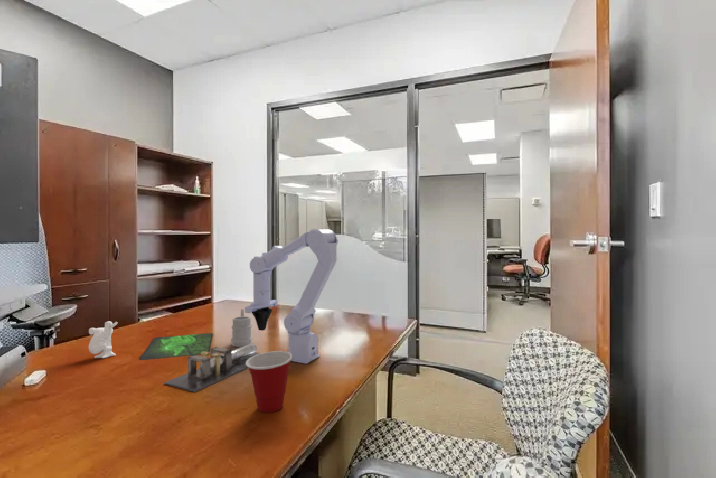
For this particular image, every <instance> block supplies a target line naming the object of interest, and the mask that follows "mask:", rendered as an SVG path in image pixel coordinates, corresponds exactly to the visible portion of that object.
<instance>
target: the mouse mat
mask: <svg viewBox="0 0 716 478" xmlns="http://www.w3.org/2000/svg"><path fill="white" fill-rule="evenodd" d="M213 336H214V333H212V332H211V333H210V332H209V333H208V332H207V333H206V332H205V333H191V334H183V335H182V334H181V335H167V336H157V337H153V339H152V341H151V342H150V343H149V344H148V346H147V347H146V348H145V350H144V352H142V354H141V356H140V357H139V358H138V360H140V361H147V360H148V361H149V360H150V361H151V360H159V359H168V358H179V357H189V356H192V355H198V356H201V352H204V351H205V352H209V353H211V350H210V349H211V345H212V341H213Z"/></svg>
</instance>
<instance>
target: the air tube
mask: <svg viewBox="0 0 716 478" xmlns="http://www.w3.org/2000/svg"><path fill="white" fill-rule="evenodd" d="M257 350H258V346H257V345H256V344H255V342H254V343H251V344H249V345H246V346H243V347H238V348H236V349H233V350H232V362H233V361H235V360H238V359H240V358H243V357H245V356H247V355H250V354H252V353H255V352H256V353H257ZM223 365H224V354H222V353H221V354H220V367H221V366H223ZM199 368H200V370H201V372H202V362H200V364H199ZM214 369H215V357H214V358H212V359H211V358H210V371H211V370H214Z"/></svg>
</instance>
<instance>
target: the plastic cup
mask: <svg viewBox="0 0 716 478" xmlns="http://www.w3.org/2000/svg"><path fill="white" fill-rule="evenodd" d="M291 359H292V354H291V353H289V352H288V351H286V350H285V351H284V350H274V351H267V352H261V354H258V355H255V356H253V357H251V358H249V359H248V360H247V361H246V365H247V367H248V368H247V369H248V370H249V372H250V376H251V380H252V385H253V392H254V396H255V400H256V406H257V409H258V411H259V412H262V413H265V414H266V413H273V412H274V413H275V412H277V411H279V410H281V409H282V408H283V405H284V401H285V394H286V391H287V382H288V375H289V374H288V373H289V371H290V366H291V365H290V364H291V362H292V361H291Z"/></svg>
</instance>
